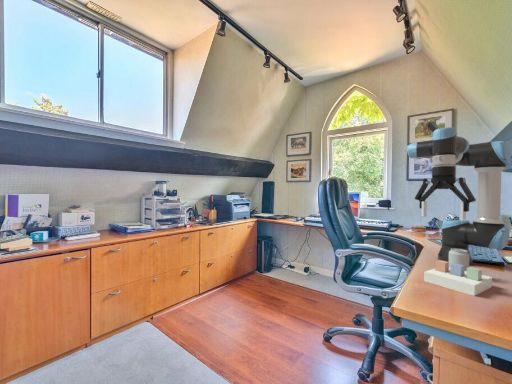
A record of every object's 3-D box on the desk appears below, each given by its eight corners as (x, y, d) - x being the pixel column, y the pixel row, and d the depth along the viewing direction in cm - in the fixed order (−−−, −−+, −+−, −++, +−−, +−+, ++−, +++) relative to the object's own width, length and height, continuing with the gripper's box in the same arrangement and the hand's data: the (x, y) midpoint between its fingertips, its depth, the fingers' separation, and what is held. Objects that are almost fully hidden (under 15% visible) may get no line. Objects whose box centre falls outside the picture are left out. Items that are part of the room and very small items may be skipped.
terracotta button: (439, 270, 109) (439, 259, 109) (448, 273, 106) (448, 262, 106) (435, 272, 107) (435, 261, 107) (444, 274, 104) (445, 263, 104)
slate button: (453, 274, 104) (454, 263, 104) (464, 277, 101) (464, 265, 101) (450, 276, 103) (450, 264, 103) (460, 278, 99) (460, 266, 99)
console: (443, 274, 114) (443, 265, 114) (491, 286, 99) (492, 277, 99) (424, 280, 105) (424, 271, 105) (474, 296, 90) (474, 285, 90)
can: (473, 278, 108) (473, 252, 108) (454, 277, 110) (454, 251, 110) (462, 273, 116) (463, 248, 116) (444, 271, 117) (445, 247, 117)
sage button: (470, 278, 100) (470, 266, 100) (481, 281, 97) (481, 269, 96) (466, 280, 98) (466, 268, 98) (477, 283, 95) (478, 270, 95)
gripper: (406, 168, 108) (405, 215, 108) (479, 163, 86) (478, 222, 86) (415, 168, 111) (414, 214, 112) (487, 164, 90) (486, 221, 90)
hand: (442, 218), depth 99 cm, fingers open, 13 cm apart
